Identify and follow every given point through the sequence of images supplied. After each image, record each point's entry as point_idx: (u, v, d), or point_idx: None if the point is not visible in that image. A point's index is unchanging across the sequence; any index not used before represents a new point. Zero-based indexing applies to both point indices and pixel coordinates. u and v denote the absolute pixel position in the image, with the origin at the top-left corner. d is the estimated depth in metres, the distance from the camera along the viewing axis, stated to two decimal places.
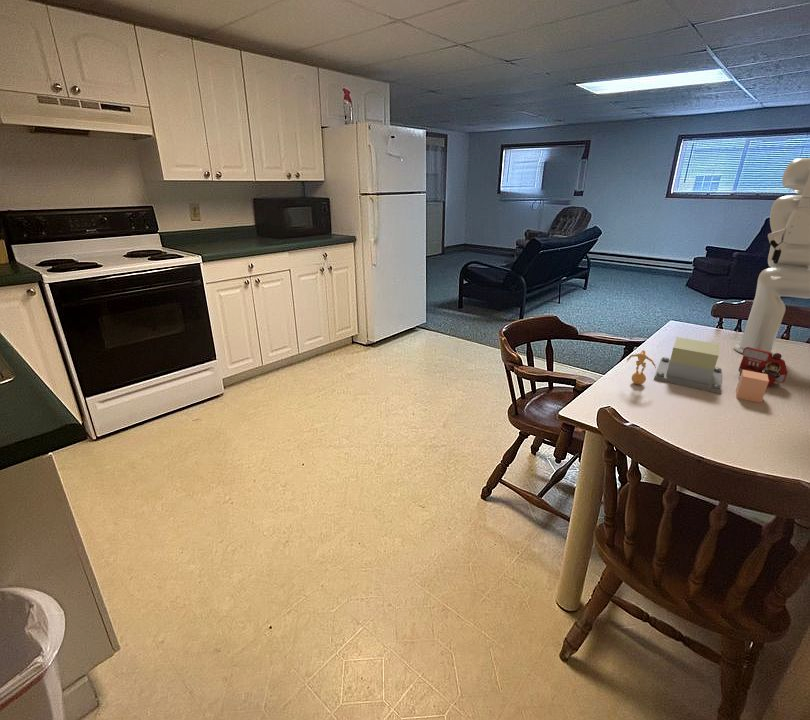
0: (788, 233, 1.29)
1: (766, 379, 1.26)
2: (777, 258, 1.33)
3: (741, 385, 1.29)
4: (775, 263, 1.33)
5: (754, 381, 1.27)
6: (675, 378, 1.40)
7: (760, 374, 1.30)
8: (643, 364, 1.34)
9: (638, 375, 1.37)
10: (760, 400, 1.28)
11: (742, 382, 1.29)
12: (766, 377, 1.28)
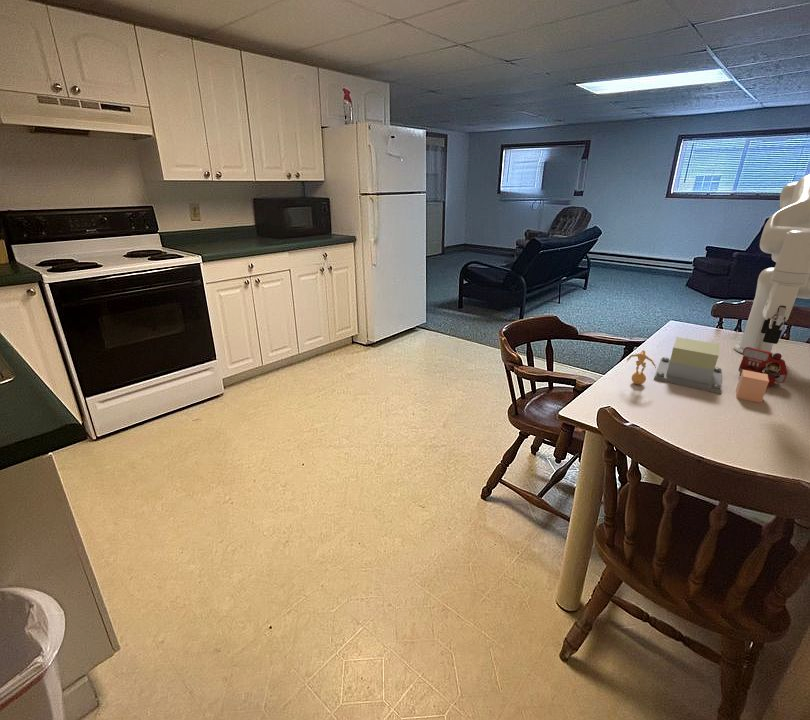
0: (790, 311, 1.16)
1: (766, 379, 1.26)
2: (778, 338, 1.19)
3: (741, 385, 1.29)
4: (776, 343, 1.20)
5: (754, 381, 1.27)
6: (675, 378, 1.40)
7: (760, 374, 1.30)
8: (643, 364, 1.34)
9: (638, 375, 1.37)
10: (760, 400, 1.28)
11: (742, 382, 1.29)
12: (766, 377, 1.28)
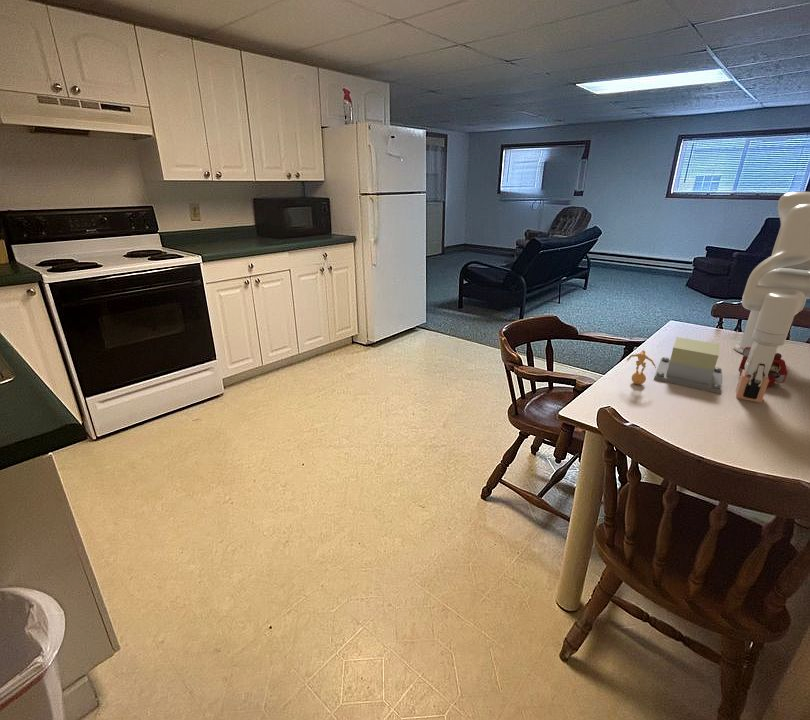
0: (769, 369, 1.23)
1: (766, 379, 1.26)
2: (757, 394, 1.27)
3: (741, 385, 1.29)
4: (755, 398, 1.28)
5: None
6: (675, 378, 1.40)
7: None
8: (643, 364, 1.34)
9: (638, 375, 1.37)
10: (760, 400, 1.28)
11: (742, 382, 1.29)
12: (766, 377, 1.28)
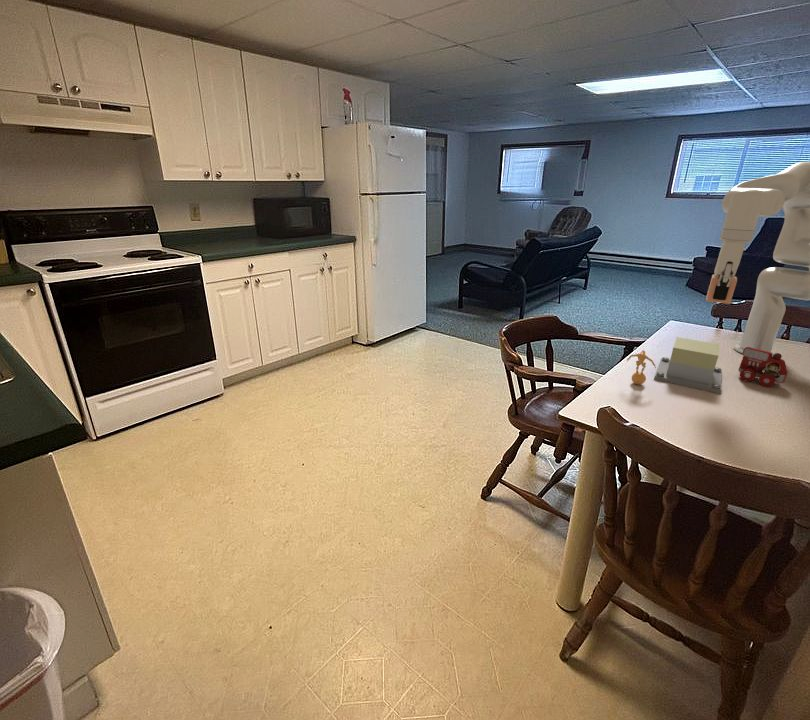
0: (737, 267, 1.24)
1: (735, 279, 1.27)
2: (726, 294, 1.28)
3: (711, 287, 1.30)
4: None
5: None
6: (675, 378, 1.40)
7: None
8: (643, 364, 1.34)
9: (638, 375, 1.37)
10: (729, 301, 1.29)
11: (712, 284, 1.30)
12: (735, 278, 1.29)
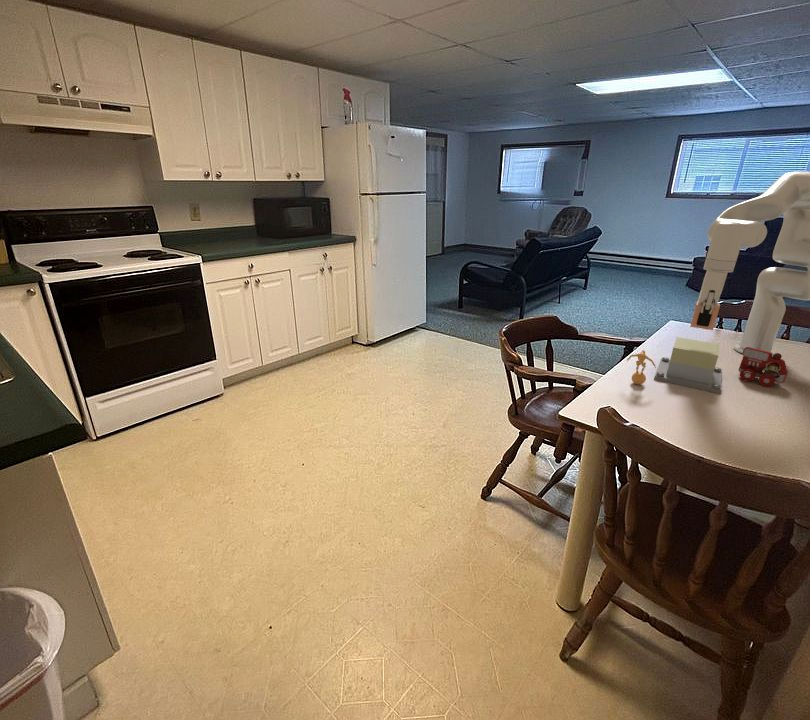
0: (719, 295, 1.29)
1: (717, 306, 1.32)
2: (709, 321, 1.33)
3: (694, 314, 1.35)
4: (707, 326, 1.34)
5: None
6: (675, 378, 1.40)
7: None
8: (643, 364, 1.34)
9: (638, 375, 1.37)
10: (712, 327, 1.34)
11: (695, 311, 1.35)
12: (718, 305, 1.34)
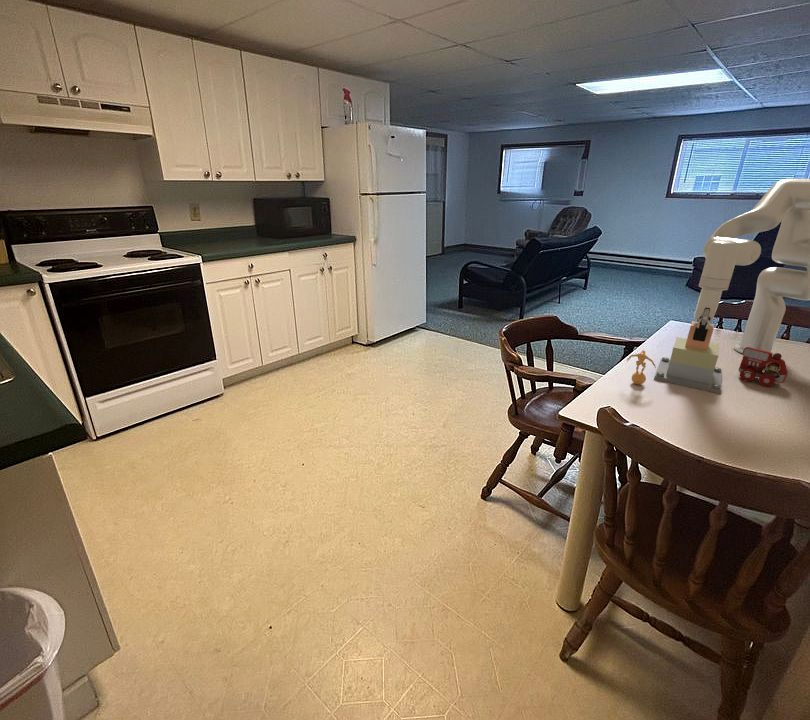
0: (714, 313, 1.31)
1: (711, 327, 1.35)
2: (705, 336, 1.34)
3: (689, 334, 1.38)
4: (703, 341, 1.35)
5: None
6: (675, 378, 1.40)
7: None
8: (643, 364, 1.34)
9: (638, 375, 1.37)
10: (706, 348, 1.36)
11: (690, 331, 1.38)
12: (712, 326, 1.36)
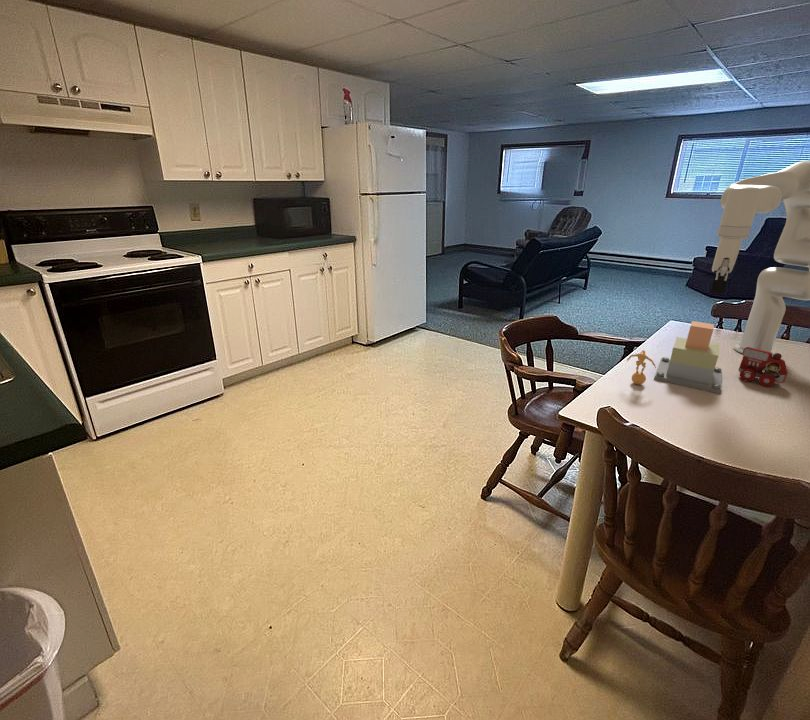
0: (734, 263, 1.26)
1: (711, 327, 1.35)
2: (724, 288, 1.29)
3: (689, 334, 1.38)
4: (722, 293, 1.30)
5: (700, 330, 1.36)
6: (675, 378, 1.40)
7: (707, 324, 1.38)
8: (643, 364, 1.34)
9: (638, 375, 1.37)
10: (706, 348, 1.36)
11: (690, 331, 1.38)
12: (712, 326, 1.36)
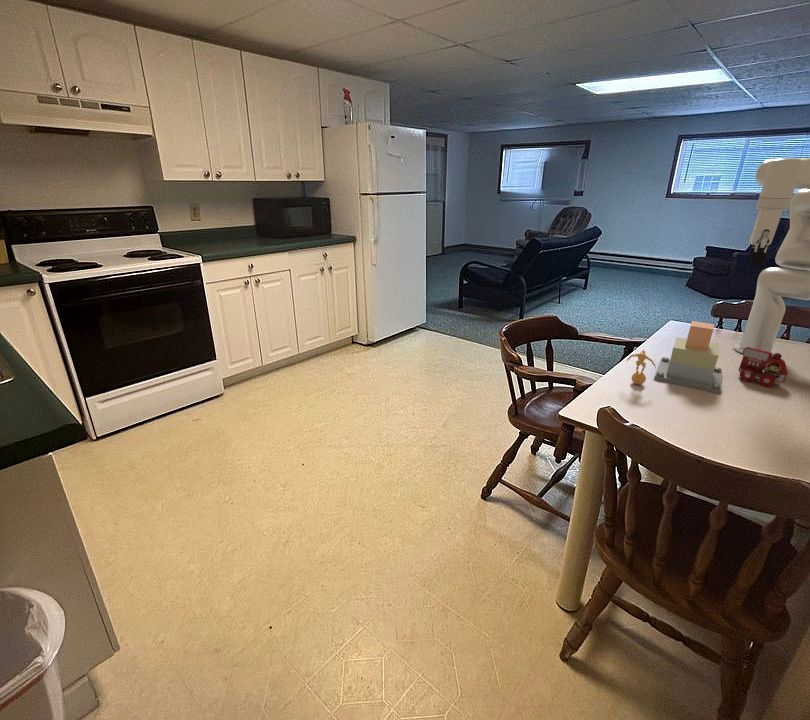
0: (773, 235, 1.27)
1: (711, 327, 1.35)
2: (763, 260, 1.30)
3: (689, 334, 1.38)
4: None
5: (700, 330, 1.36)
6: (675, 378, 1.40)
7: (707, 324, 1.38)
8: (643, 364, 1.34)
9: (638, 375, 1.37)
10: (706, 348, 1.36)
11: (690, 331, 1.38)
12: (712, 326, 1.36)
